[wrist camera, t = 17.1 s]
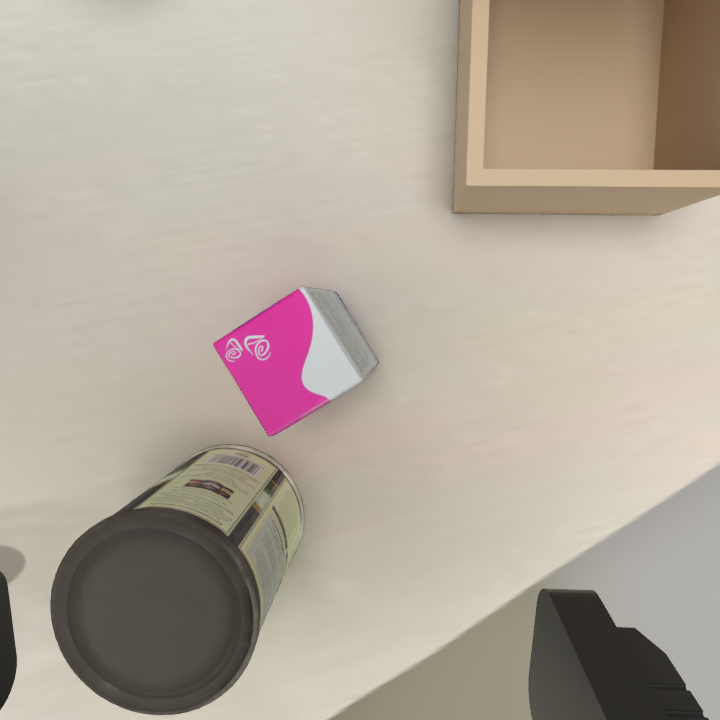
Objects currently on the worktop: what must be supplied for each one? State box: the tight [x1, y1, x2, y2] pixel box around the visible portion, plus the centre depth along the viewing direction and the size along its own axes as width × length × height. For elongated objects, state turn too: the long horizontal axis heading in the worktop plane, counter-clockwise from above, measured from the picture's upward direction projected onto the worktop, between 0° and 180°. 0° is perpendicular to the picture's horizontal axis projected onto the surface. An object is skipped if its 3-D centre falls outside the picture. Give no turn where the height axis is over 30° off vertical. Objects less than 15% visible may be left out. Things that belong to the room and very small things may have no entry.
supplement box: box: [213, 287, 379, 436], centre depth 37 cm, size 6×6×12 cm
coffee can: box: [51, 445, 304, 715], centre depth 37 cm, size 10×10×14 cm
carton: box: [453, 0, 720, 215], centre depth 35 cm, size 13×14×10 cm
